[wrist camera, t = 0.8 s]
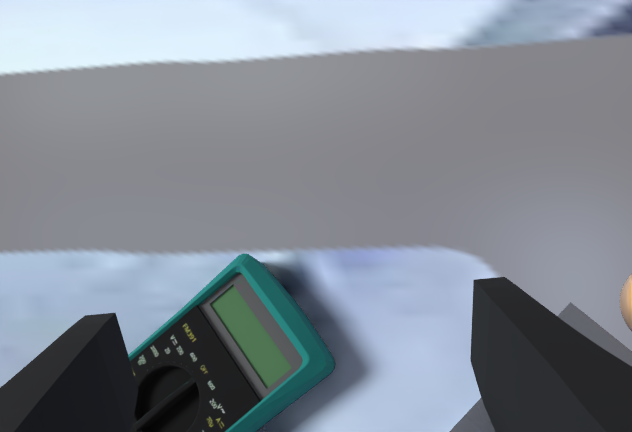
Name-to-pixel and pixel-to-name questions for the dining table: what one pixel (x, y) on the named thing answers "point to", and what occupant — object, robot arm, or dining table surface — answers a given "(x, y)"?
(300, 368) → the digital multimeter
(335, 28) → the dining table surface
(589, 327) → the junction plate
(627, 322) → the orange rounded knob
